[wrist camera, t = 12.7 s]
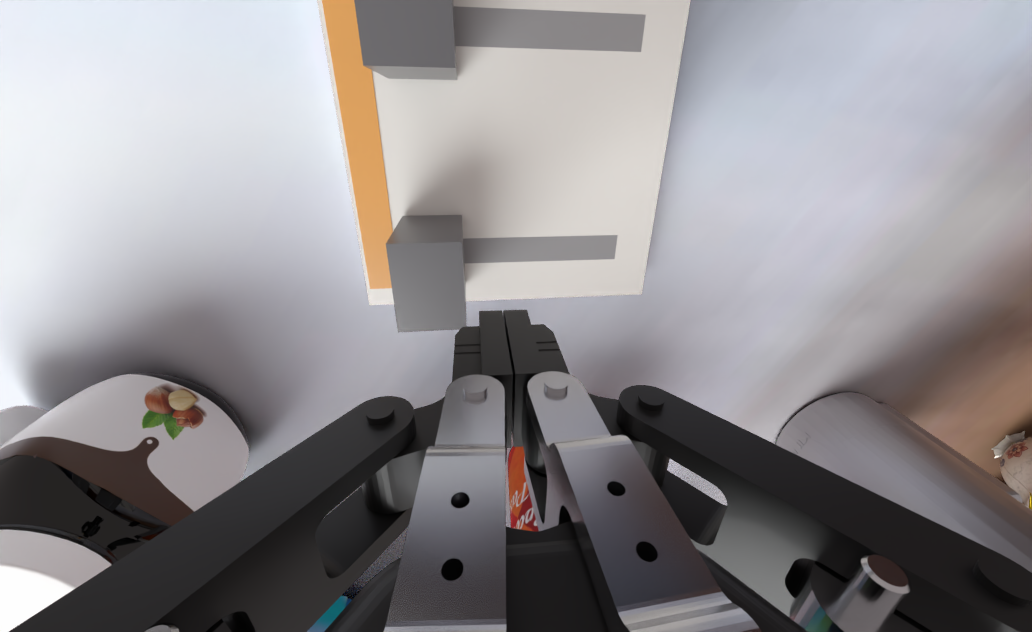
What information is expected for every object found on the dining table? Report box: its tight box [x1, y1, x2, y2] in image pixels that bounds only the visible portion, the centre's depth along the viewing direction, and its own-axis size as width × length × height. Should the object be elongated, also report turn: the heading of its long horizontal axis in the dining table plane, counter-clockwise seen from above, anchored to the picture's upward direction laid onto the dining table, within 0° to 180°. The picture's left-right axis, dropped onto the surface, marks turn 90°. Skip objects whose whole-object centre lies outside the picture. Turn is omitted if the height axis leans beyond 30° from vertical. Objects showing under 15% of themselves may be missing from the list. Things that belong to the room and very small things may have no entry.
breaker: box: [354, 0, 457, 80], centre depth 14 cm, size 3×4×5 cm
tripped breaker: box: [386, 215, 466, 332], centre depth 19 cm, size 3×4×5 cm
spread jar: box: [0, 373, 249, 632], centre depth 21 cm, size 12×11×12 cm
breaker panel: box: [317, 0, 691, 305], centre depth 20 cm, size 16×16×2 cm
